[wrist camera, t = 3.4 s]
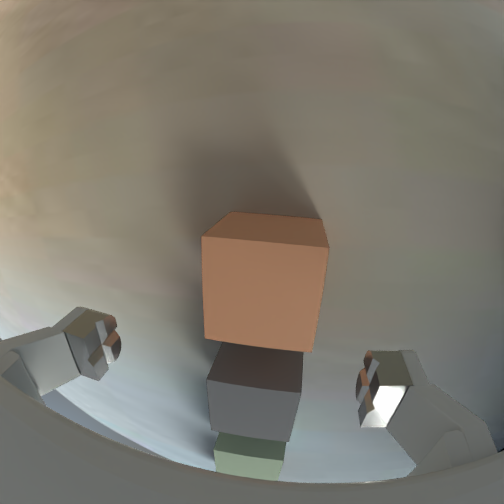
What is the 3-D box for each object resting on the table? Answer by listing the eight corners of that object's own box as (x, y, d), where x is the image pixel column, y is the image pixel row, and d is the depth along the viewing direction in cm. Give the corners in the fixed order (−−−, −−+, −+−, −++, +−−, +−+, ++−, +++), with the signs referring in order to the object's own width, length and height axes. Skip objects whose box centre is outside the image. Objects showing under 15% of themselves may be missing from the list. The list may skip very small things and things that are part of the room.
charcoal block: (294, 389, 20) (288, 442, 15) (228, 380, 20) (211, 430, 16) (303, 337, 18) (301, 393, 13) (228, 328, 19) (206, 379, 14)
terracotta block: (311, 300, 17) (311, 352, 12) (229, 291, 18) (204, 338, 13) (321, 219, 15) (329, 248, 11) (231, 211, 16) (201, 236, 11)
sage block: (282, 441, 22) (276, 485, 18) (229, 434, 23) (217, 475, 18) (289, 411, 21) (283, 460, 16) (229, 402, 21) (213, 449, 17)
